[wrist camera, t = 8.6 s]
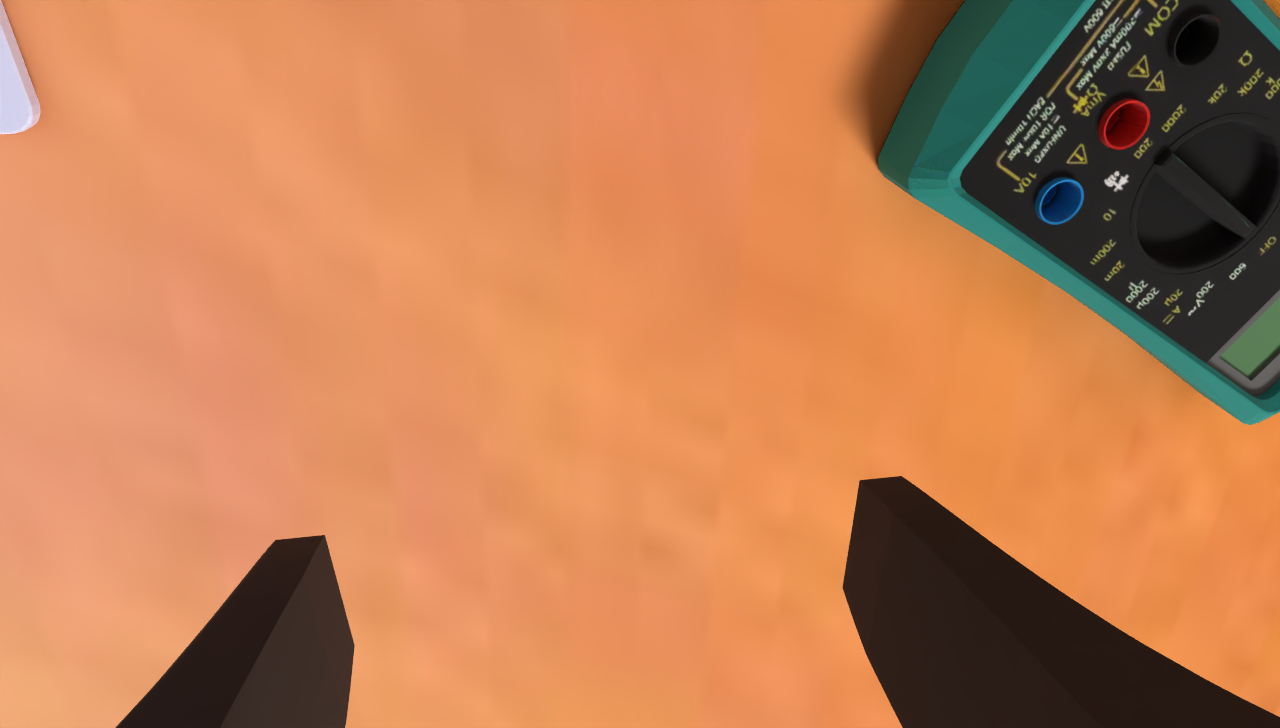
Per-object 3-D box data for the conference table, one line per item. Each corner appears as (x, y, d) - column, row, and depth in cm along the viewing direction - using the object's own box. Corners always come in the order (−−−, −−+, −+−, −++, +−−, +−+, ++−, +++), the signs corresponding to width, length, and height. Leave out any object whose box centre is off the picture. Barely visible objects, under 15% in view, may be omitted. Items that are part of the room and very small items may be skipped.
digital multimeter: (1060, -152, 17) (1157, -161, 14) (1401, 192, 22) (1514, 229, 20) (843, 148, 20) (893, 185, 17) (1196, 391, 25) (1274, 446, 23)
